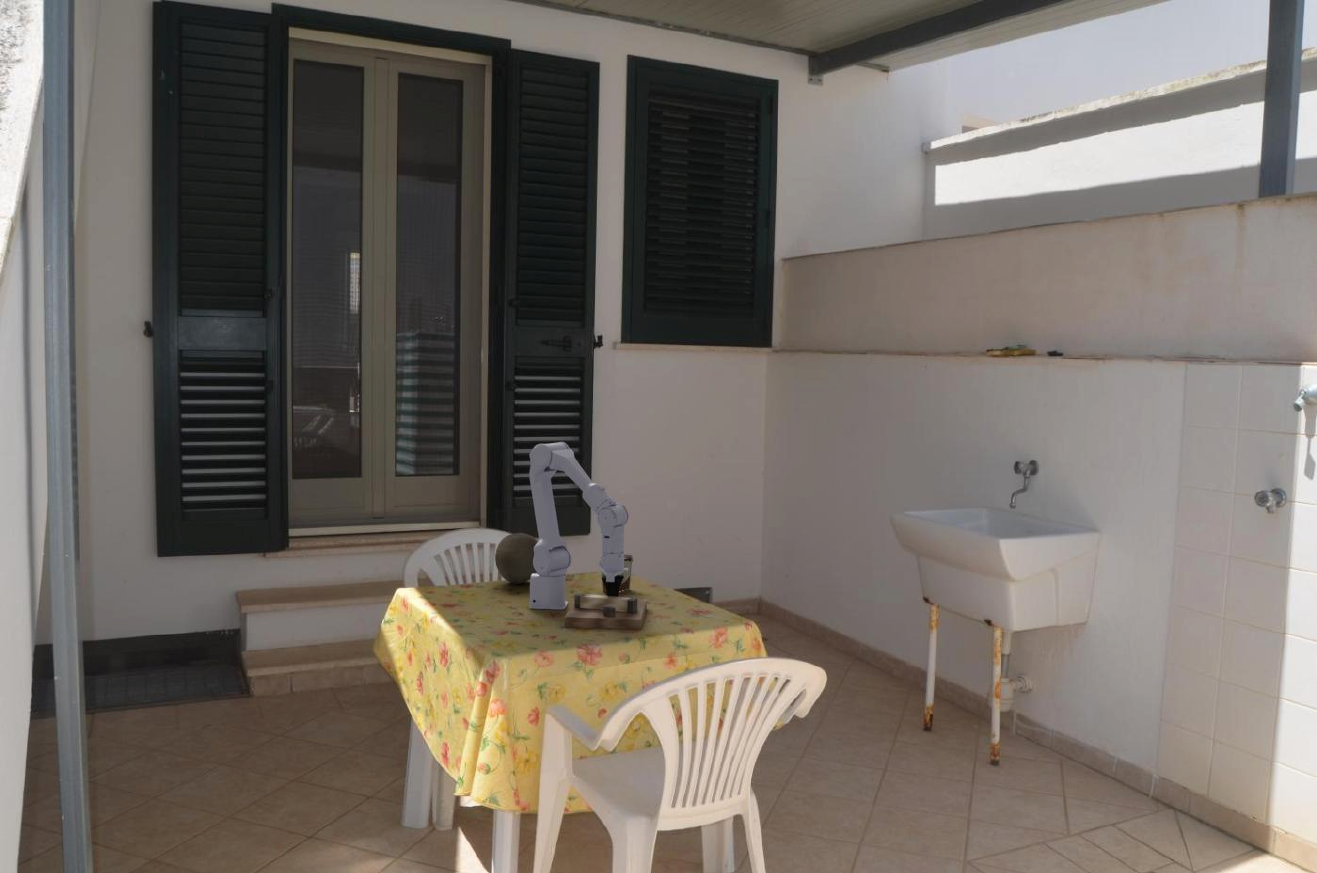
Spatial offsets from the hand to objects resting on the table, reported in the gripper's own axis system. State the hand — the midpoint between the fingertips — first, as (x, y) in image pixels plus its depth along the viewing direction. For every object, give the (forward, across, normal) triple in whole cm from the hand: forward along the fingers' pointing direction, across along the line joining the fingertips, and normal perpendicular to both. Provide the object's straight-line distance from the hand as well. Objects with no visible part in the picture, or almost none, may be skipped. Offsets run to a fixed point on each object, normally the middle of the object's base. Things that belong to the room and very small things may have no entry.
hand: (612, 603), depth 275 cm
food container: (+4, +31, +3) cm, 31 cm away
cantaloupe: (+3, +36, +31) cm, 48 cm away
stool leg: (+1, -2, +2) cm, 3 cm away
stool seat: (+3, 0, +1) cm, 4 cm away
